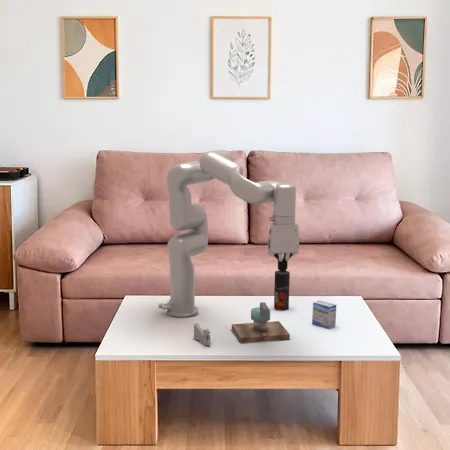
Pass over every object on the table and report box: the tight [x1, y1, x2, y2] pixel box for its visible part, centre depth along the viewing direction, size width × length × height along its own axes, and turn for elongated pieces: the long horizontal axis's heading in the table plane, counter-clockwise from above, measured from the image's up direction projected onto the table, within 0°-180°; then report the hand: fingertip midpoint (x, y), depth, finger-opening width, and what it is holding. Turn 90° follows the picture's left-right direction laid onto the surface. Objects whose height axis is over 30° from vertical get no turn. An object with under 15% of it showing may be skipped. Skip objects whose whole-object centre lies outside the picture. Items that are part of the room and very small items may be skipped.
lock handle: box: [250, 301, 271, 322], centre depth 243 cm, size 14×7×7 cm, turn 8°
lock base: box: [231, 320, 291, 344], centre depth 248 cm, size 18×14×6 cm
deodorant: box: [273, 270, 291, 312], centre depth 277 cm, size 6×6×15 cm
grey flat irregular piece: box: [193, 322, 212, 346], centre depth 241 cm, size 6×1×10 cm
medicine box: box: [311, 300, 337, 330], centre depth 258 cm, size 8×4×9 cm, turn 47°
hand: (282, 271), depth 239 cm, fingers closed
